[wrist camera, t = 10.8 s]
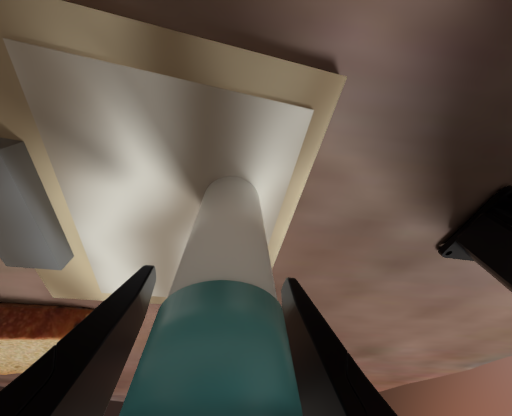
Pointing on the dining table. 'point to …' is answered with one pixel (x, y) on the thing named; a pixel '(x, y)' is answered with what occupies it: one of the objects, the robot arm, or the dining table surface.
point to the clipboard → (139, 141)
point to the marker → (219, 322)
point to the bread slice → (33, 332)
